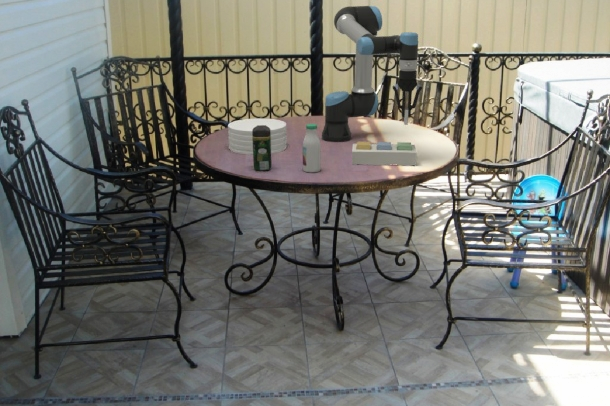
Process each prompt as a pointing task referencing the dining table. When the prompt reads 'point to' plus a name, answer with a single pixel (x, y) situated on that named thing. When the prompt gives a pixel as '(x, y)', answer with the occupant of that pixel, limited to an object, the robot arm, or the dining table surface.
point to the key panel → (384, 156)
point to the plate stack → (243, 135)
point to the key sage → (404, 146)
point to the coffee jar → (261, 148)
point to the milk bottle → (311, 150)
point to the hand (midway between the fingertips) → (405, 124)
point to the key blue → (383, 145)
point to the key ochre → (364, 145)
